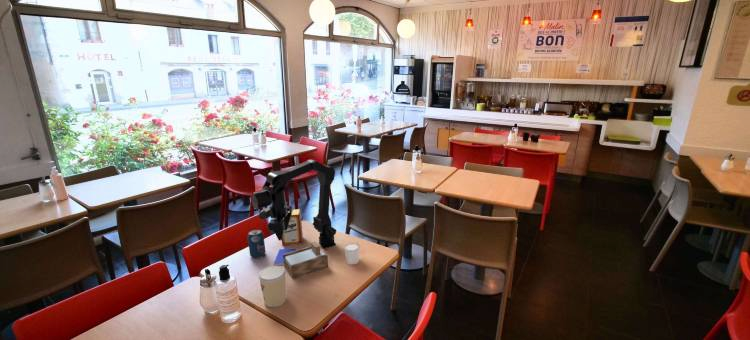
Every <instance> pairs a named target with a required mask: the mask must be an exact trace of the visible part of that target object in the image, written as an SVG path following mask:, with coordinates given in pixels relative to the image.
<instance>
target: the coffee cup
mask: <svg viewBox="0 0 750 340" xmlns="http://www.w3.org/2000/svg"><path fill="white" fill-rule="evenodd" d="M258 279H259V282H260V283H259V284H260V287H261V292H262V297H263V301H264V305H266V307H270V308H276V307H279V306H282V305H283V304H284V303H285V301H287V289H286V288H287V284H286V282H287V281H286V269H285V267H284V266H282V265H271V266H267V267H265V268H263V269H262V270H261V271H260V272H259V274H258Z"/></svg>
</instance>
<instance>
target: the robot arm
mask: <svg viewBox="0 0 750 340" xmlns="http://www.w3.org/2000/svg"><path fill="white" fill-rule="evenodd" d="M311 171H314V172H315V173H316V177H317V180H318V182H319V195H318V211H317V215H316V216H313V222H312V226H313V229H315V230H316V231H317V232H318V233H319V237H318V245H319V246H320V247H322V248H323V249H325V250H326V249H328V248H331V247H335V246H337V243H336V242H335V235H336V234H337V229H336V228H334V227H332V220H331V217H330V215H329V212H330V199H331V198H330V196H331V185H332V183H333V182H334V180H335V176H336V169H335V168H334V167H332V166H330V165H326V164H322V163H321V162H318V160H315V159H311V158H310V159H307V160H306V161H304V162H302V163H299V164H297V165H294V166H292V167H290V168H287V169H283V170H275V171H270V172H269V173H268V174H267V176H266V179H265V181H264V183H263V186H262V187H261V189H262V190H259V191H254V192H252V196H251V204H252V206H253V208H254V210H259V209H261V210H260V211H259V213H258V218H259V219H260V220H261V221H265V220H266V219H268V218H270V220H269V221H268V223H267V224H266V228H267V230H268V231H272V232H273V233H274V234H275V236H276V238H277V240H278V241H280V242H281V241H282V236H283V232H284V230H287V228H288V225H289V221H290V218H291V215H292V212H293V210H294V209H293V206H291V205H288V202H287V201H286V194H285V191H288V190H290V188H289V187H287V186H286V185H288V184H289V182H290V181H291V180H293V179H296V178H297V177H301V176H302V175H304V174H307V173H309V172H311ZM270 186H271V187H270ZM268 206H269V207H268ZM262 208H263V209H262ZM289 212H290V213H289Z"/></svg>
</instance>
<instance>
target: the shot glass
mask: <svg viewBox="0 0 750 340" xmlns="http://www.w3.org/2000/svg"><path fill="white" fill-rule="evenodd" d="M343 248H344V249H343V250H344V255H345V261H346V264H348V265H356V264H358V263H359V262H360V248H361V247H360V245H359V244H358V243H351V242H350V243H346V245H344V246H343Z"/></svg>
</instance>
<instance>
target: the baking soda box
mask: <svg viewBox="0 0 750 340" xmlns="http://www.w3.org/2000/svg"><path fill="white" fill-rule="evenodd" d="M289 213H290V212H289ZM302 224H303V223H302V214H301V209H300V208H297V209H293V212H292V215H291V218H290V221H289V225H288V228H287V230H284V232H283V236H282V240H281V245H282V246H292V245H301V244H302V245H303V239H304V236H303V234H304V233H303V225H302Z"/></svg>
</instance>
